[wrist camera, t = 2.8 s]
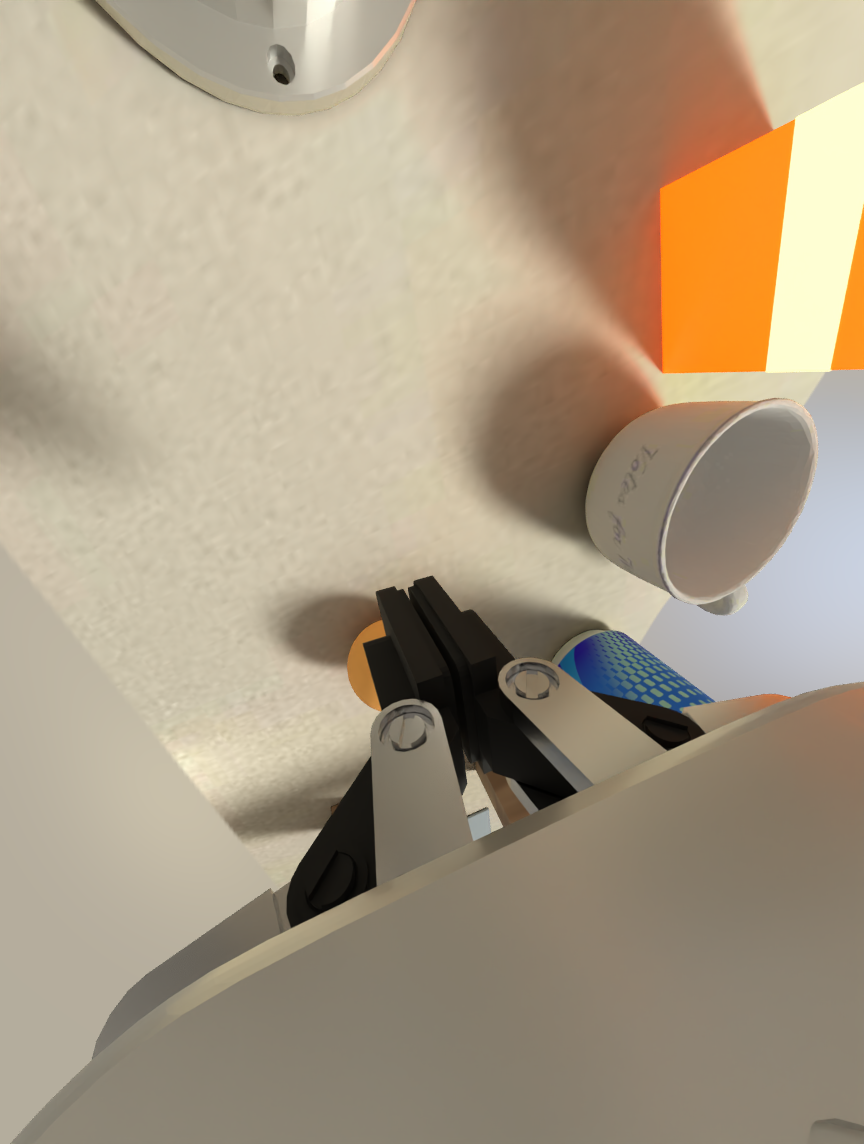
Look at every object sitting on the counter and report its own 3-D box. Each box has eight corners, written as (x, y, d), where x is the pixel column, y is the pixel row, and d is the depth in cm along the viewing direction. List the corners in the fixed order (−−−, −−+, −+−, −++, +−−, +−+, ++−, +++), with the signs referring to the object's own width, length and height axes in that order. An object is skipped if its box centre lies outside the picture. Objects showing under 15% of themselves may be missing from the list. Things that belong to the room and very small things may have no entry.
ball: (332, 615, 23) (343, 675, 19) (417, 591, 24) (448, 640, 20) (352, 681, 26) (367, 747, 21) (429, 656, 27) (458, 713, 22)
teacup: (552, 428, 23) (665, 449, 16) (699, 369, 24) (859, 365, 17) (573, 607, 30) (657, 674, 23) (685, 553, 31) (794, 600, 25)
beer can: (531, 708, 34) (697, 930, 20) (550, 628, 30) (766, 833, 16) (608, 690, 36) (800, 876, 23) (633, 615, 33) (879, 782, 19)
